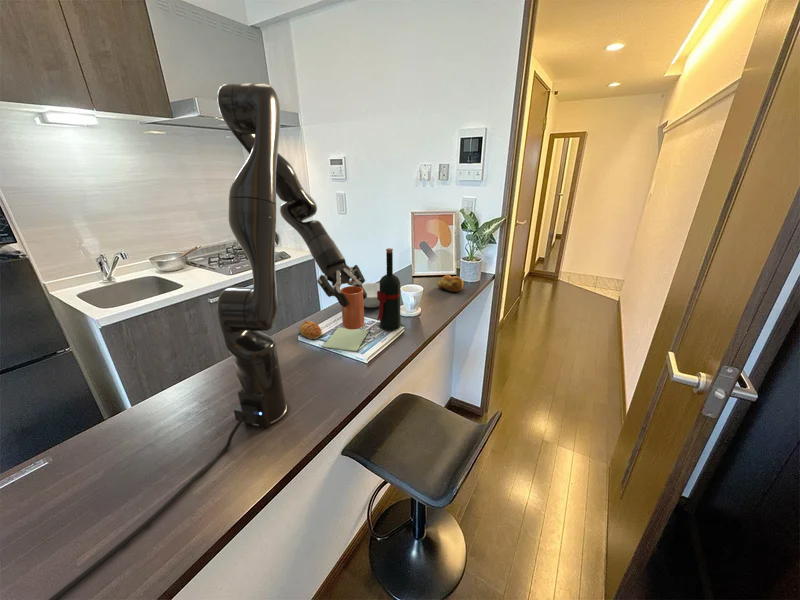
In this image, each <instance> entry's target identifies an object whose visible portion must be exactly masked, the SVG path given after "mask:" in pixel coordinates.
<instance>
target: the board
mask: <svg viewBox="0 0 800 600" xmlns="http://www.w3.org/2000/svg"><path fill="white" fill-rule="evenodd" d="M369 333H370V330H365V329H353V330H351V329H346V328H344V327H341V326H340V327H337V328H336V330H335V331H333V333H332V335H331V336H330V337H328V339H327V340H326V342H325V343H324V344H323V345H322V348H325V349H334V350H341V351H350V352H357V351H358V350H359V349H360V347H361V345H362V344H363V342H364V340H365V339H366V337H367V336H368V335H369Z"/></svg>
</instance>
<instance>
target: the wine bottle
mask: <svg viewBox="0 0 800 600" xmlns="http://www.w3.org/2000/svg"><path fill="white" fill-rule="evenodd" d="M385 251H386V254H385V255H386V257H385V258H386V274H384V275H383V276H382V277H380V280H379V284H380V291H377V299H378V301H380V304H379V307H378V315H377V322H378V321H379V327H380V329H382V330H384V331H387V332H394V331H397V330H399V329H400V328H401V280H400V279H399V277H398V276H397V275H395V274H394V270H393V269H394V268H393V267H394V261H393V260H394V258H393V257H394V256H393V255H394V254H393V253H394V252H393V248H390V247H389V248H386V249H385Z"/></svg>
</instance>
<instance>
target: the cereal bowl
mask: <svg viewBox="0 0 800 600" xmlns="http://www.w3.org/2000/svg"><path fill="white" fill-rule="evenodd" d="M362 286H363V288H364V290H365V291H366V293H367V297H366V298H365V299H364V300H363V301H364V308H369V309H375V308H379V304H380V301H378V299H377V291H380V283H376V282H369V283H363V284H362Z"/></svg>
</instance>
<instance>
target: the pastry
mask: <svg viewBox="0 0 800 600" xmlns="http://www.w3.org/2000/svg"><path fill="white" fill-rule="evenodd" d="M298 331H299V334H300V335H302V336H303V337H305V338H308V339H309V340H312V339H313V340H315V339H318V338H320V337H322V334H323V331H322V328H321V327H320V325H318V323H316V322H315V321H311V320H306V321H304V322H302V323H301V324H300V325H299V327H298Z"/></svg>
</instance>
